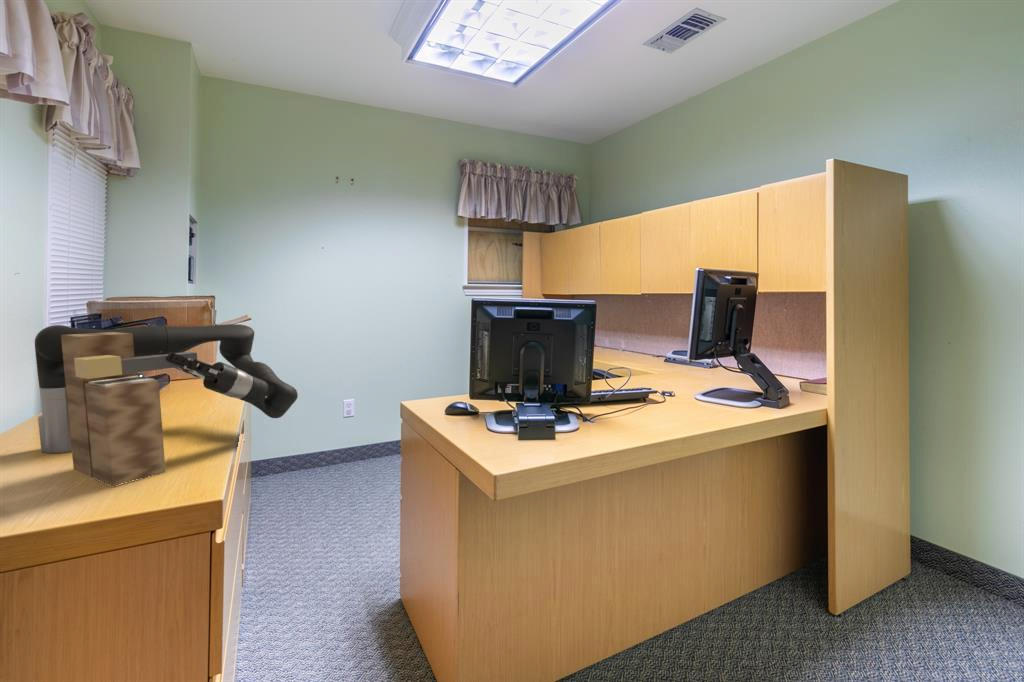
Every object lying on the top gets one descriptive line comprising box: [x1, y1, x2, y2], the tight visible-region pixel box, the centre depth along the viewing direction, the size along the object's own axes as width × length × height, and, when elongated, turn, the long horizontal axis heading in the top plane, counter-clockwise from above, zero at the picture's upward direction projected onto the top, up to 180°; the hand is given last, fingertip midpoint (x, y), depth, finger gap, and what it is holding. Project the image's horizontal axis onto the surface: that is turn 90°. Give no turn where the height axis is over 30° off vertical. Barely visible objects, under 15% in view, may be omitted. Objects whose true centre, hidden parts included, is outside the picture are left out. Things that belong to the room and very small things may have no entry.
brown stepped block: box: [61, 332, 166, 487], centre depth 111 cm, size 10×21×32 cm, turn 60°
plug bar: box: [74, 351, 198, 379], centre depth 110 cm, size 22×6×4 cm, turn 150°
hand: (163, 355), depth 114 cm, fingers closed on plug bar, 4 cm apart
